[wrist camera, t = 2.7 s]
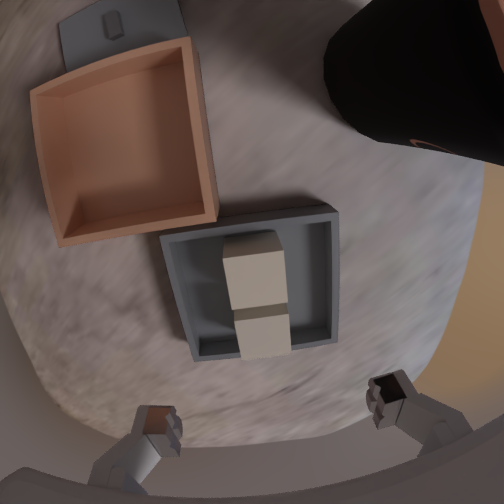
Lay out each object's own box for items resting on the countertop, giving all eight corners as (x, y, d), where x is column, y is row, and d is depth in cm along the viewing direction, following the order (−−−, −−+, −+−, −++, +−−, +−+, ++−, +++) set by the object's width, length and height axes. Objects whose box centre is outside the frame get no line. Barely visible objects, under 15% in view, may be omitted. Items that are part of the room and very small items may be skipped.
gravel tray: (166, 225, 23) (159, 236, 21) (328, 204, 23) (338, 212, 21) (196, 344, 28) (194, 361, 26) (330, 326, 28) (337, 342, 26)
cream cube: (224, 237, 23) (222, 258, 20) (275, 230, 23) (283, 250, 20) (232, 283, 25) (232, 309, 21) (280, 276, 25) (287, 302, 21)
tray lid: (63, 25, 16) (54, 21, 14) (170, -24, 15) (167, -32, 14) (74, 90, 18) (65, 88, 17) (189, 41, 18) (186, 34, 16)
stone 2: (233, 293, 25) (234, 321, 22) (281, 287, 25) (288, 313, 22) (240, 331, 27) (241, 360, 23) (284, 325, 27) (291, 353, 23)
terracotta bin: (60, 94, 18) (29, 90, 14) (198, 53, 18) (190, 36, 14) (84, 228, 23) (59, 247, 19) (219, 204, 23) (216, 221, 19)
